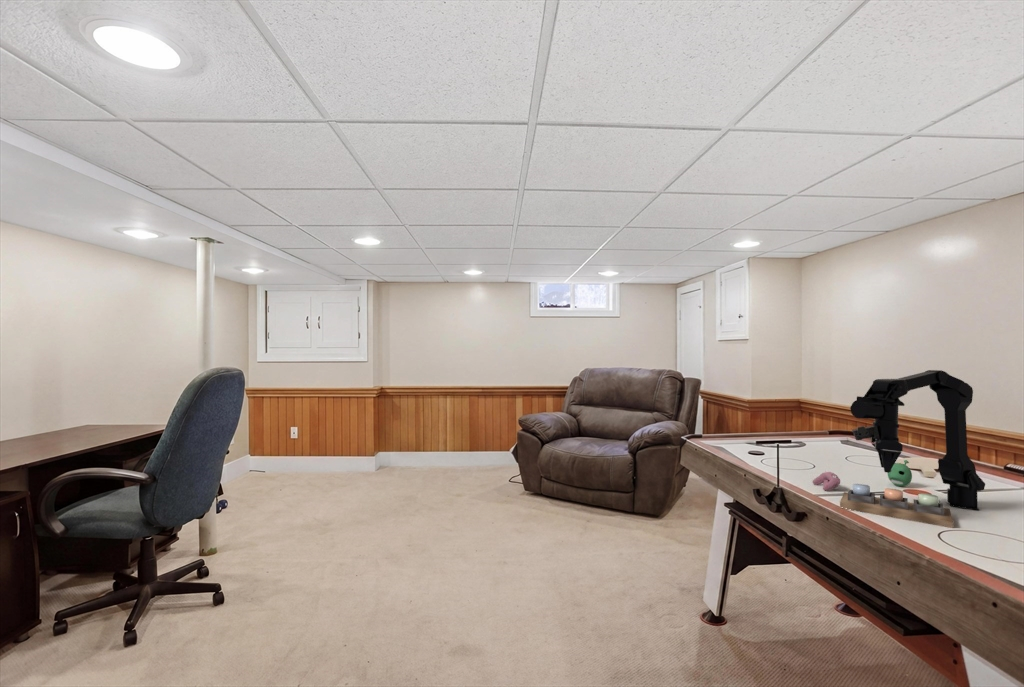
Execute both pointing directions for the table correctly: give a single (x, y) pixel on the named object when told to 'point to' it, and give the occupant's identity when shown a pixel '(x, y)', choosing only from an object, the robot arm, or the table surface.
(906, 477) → the alien toy
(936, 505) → the sage button
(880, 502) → the button panel
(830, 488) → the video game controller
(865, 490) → the slate button
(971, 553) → the table surface
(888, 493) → the terracotta button
